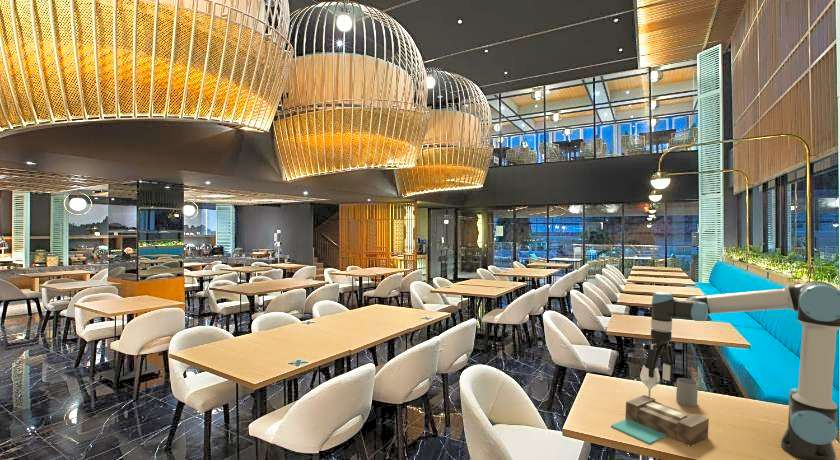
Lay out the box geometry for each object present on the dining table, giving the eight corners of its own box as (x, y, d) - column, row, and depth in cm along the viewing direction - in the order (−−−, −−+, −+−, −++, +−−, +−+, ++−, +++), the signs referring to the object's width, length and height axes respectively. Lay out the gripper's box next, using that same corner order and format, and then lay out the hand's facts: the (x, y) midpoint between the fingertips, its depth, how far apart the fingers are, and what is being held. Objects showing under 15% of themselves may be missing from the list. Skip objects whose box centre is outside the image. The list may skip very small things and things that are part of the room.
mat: (666, 436, 170) (666, 434, 170) (649, 444, 163) (649, 442, 163) (627, 419, 183) (627, 418, 183) (611, 426, 176) (611, 425, 176)
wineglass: (641, 399, 205) (642, 361, 205) (660, 404, 200) (662, 365, 200) (637, 404, 199) (638, 366, 198) (657, 409, 194) (658, 370, 193)
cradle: (707, 437, 170) (708, 418, 169) (690, 446, 162) (691, 427, 162) (643, 411, 191) (644, 395, 191) (625, 418, 184) (626, 401, 184)
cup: (672, 400, 205) (673, 379, 204) (683, 397, 208) (684, 377, 208) (689, 407, 197) (690, 386, 197) (701, 404, 200) (701, 383, 200)
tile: (686, 421, 172) (686, 415, 172) (680, 424, 169) (680, 418, 169) (651, 407, 184) (652, 402, 184) (645, 410, 181) (645, 404, 181)
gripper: (666, 324, 188) (664, 374, 188) (636, 331, 175) (634, 384, 176) (684, 328, 181) (682, 380, 182) (655, 335, 169) (653, 390, 169)
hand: (659, 382), depth 179 cm, fingers open, 10 cm apart
